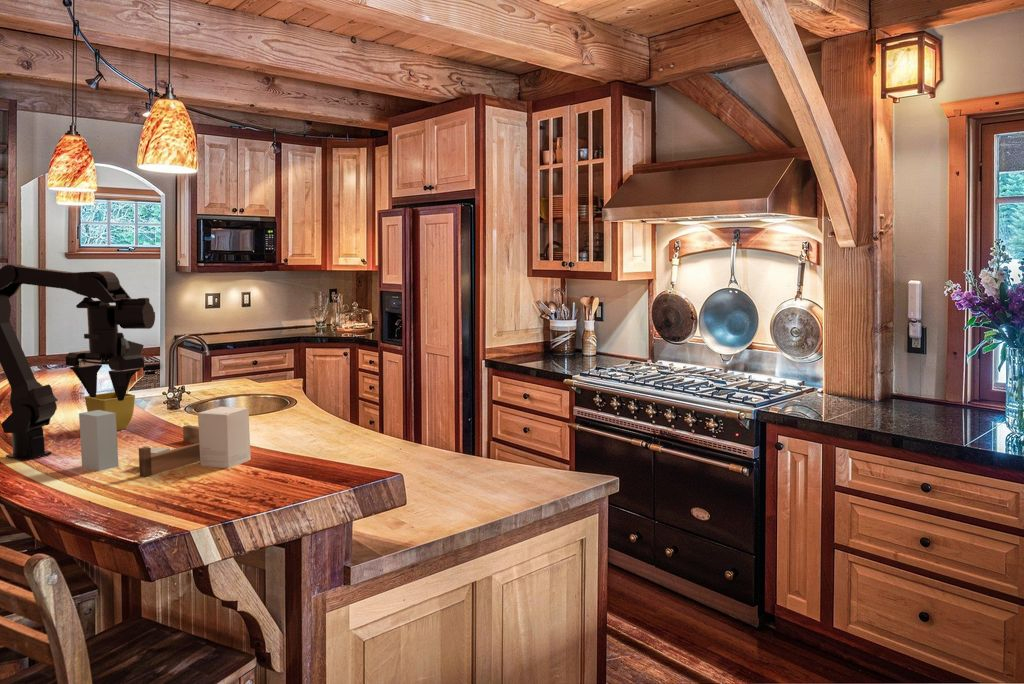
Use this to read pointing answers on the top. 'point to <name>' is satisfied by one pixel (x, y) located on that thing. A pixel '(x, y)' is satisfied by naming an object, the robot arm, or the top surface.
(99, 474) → the top surface
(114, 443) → the block
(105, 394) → the flower pot
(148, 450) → the frame
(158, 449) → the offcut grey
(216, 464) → the supplement box
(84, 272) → the robot arm
